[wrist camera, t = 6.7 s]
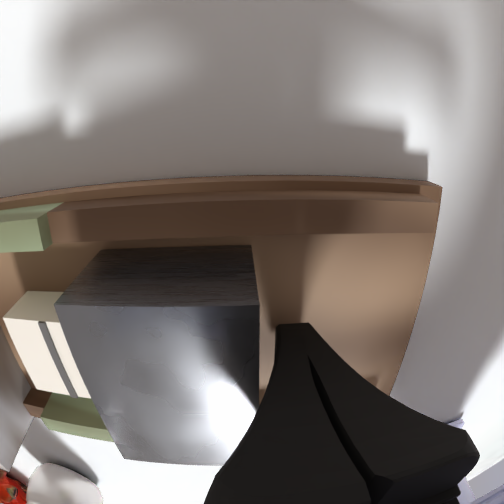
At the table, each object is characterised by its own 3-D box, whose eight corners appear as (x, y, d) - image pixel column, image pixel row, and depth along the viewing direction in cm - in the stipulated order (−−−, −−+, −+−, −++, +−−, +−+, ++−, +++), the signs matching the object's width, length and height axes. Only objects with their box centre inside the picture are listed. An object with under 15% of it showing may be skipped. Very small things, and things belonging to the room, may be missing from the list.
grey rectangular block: (252, 396, 13) (258, 464, 10) (140, 395, 13) (124, 458, 9) (251, 244, 10) (259, 304, 7) (101, 249, 10) (53, 304, 7)
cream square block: (131, 367, 12) (119, 403, 10) (53, 359, 12) (35, 390, 10) (111, 292, 11) (90, 326, 9) (27, 290, 10) (1, 319, 8)
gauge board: (379, 391, 15) (419, 481, 9) (28, 388, 14) (-11, 463, 8) (428, 181, 11) (545, 236, 5) (-39, 205, 10) (-129, 258, 4)
